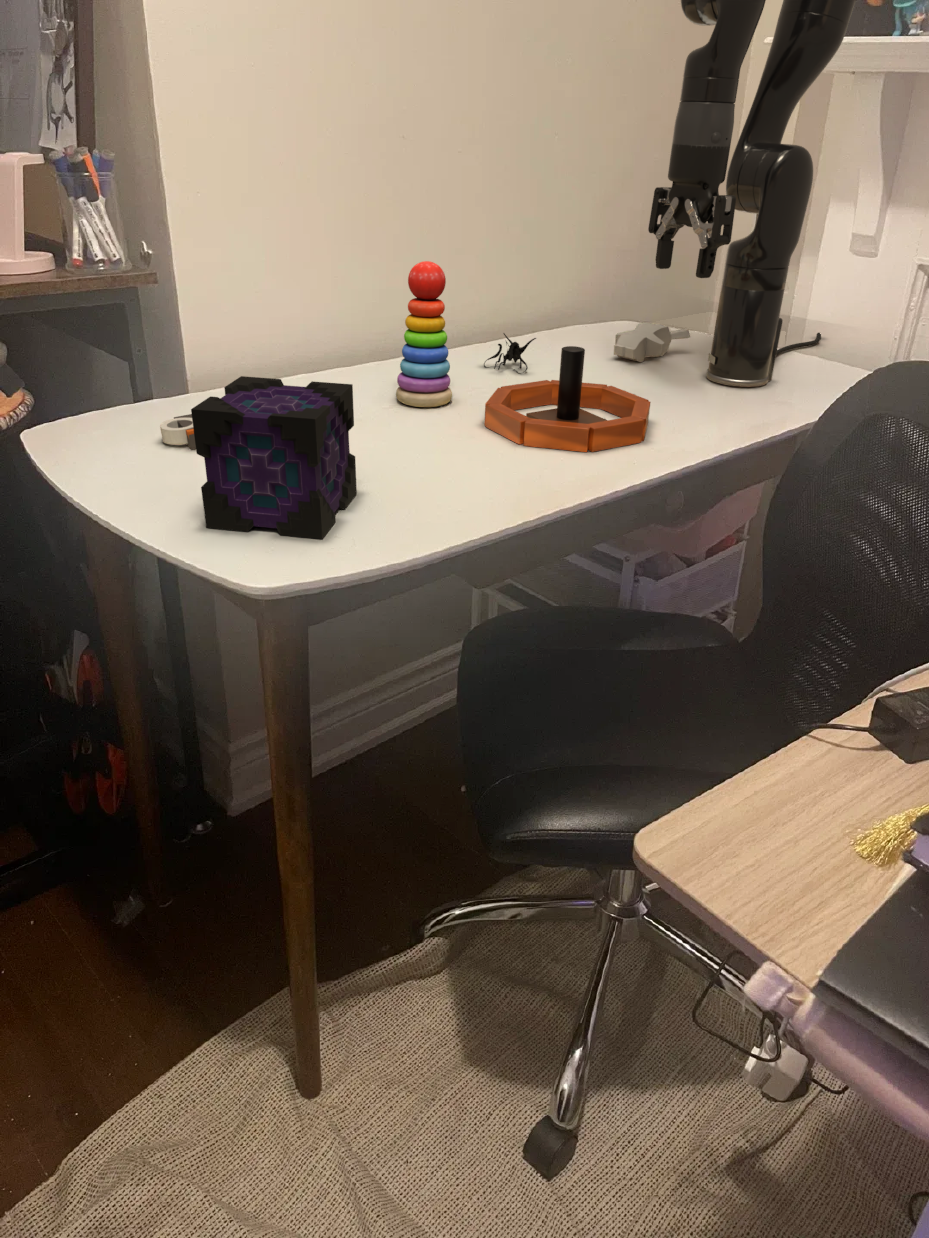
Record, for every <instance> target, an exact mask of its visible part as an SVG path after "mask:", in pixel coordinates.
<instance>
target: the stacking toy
mask: <svg viewBox="0 0 929 1238" xmlns="http://www.w3.org/2000/svg"><path fill="white" fill-rule="evenodd" d="M446 278H447V277H446V275H445V271H444V270H443V268H442V267H441V266H440V265H439V264H437V263H435V262H434V261H429V260H425V261H420V262H418V263H416V264H415V265H413V267H411V269H410V271H409V273H408V277H407V283H408V284H407V285H408V288H409V291H410V292H411V294H412V296H414V298H412V299H410V300H409V301H408V303H407V310H408V313H410V314H409V315H407V316H406V318H405V320H404V325H405V327H406V329H407V330H405V332H404V334H403V339H404V342H405V344H404V345H403V347H402V349H401V354H402V357H403V358H402V359H401V361H400V364H399V368H400V373H399V374H398V375H397V379H396V382H397V384H398V387H397V389H396V392H395V396H396V399H397V400H398V401H399V402H400V403H401V404H404V405H405V406H406V405H407V406H410V407H417V408H435V407H440V406H444V405H447V404H448V403H449V402H451V400H452V398H453V391H452V388H450V386H451V377H450V375H449V374H448V373H449V372H450V369H451V365H450V364H451V363H450V362H449V360H448V357H449V349H448V347H447V345H446V343H447V341H448V334H447V332H446V331H445V330H444V329H445V327H446V320H445V318H444V317H443V316H442V315H443V314H444V312H445V309H446V306H445V303H444V301H443V300H442V299H439V297H440V296H441V295H442V294H443V293H444V290H445V288H446V283H447V281H446Z"/></svg>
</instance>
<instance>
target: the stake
mask: <svg viewBox="0 0 929 1238" xmlns="http://www.w3.org/2000/svg"><path fill="white" fill-rule="evenodd" d="M585 352H586V349H585V348H584V347H582V346H581V347H580V346H576V345H575V346H574V345H567V346H562V348H561V351H560V365H559V366H560V367H559V377H558V380H559V390H558V403H557V405H556V408H551V409H550V408H549V409H544V410H538V411H532V412H527V413H525V416H527V417H529V418H531V419H541V420H551V421H562V422H572V423H582V424H591V423H596V422H602V421H608V420H609V419H608V420H607V419H606V418H603V417H601V416H599V415H596V414H594V413H592V412H589V411H587V410H586V409H585V410H584V409H583V408H581V407H580V400H581V389H582V383H583V376H584V365H585V356H586V355H585V354H586V353H585Z"/></svg>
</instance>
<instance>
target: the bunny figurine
mask: <svg viewBox="0 0 929 1238" xmlns="http://www.w3.org/2000/svg"><path fill="white" fill-rule="evenodd" d="M614 338H615V339H614V340H615V341H614V345H613V355H615V356H616V357H618V358H622V359H626V360H631V361H636V362H639V363H643V362H644V361H645V358H650V357H653V358H658V357H664V356H665V354H666V353H667V352H668V350H669V347H670V345H671V344H672V341H673V340H683V339H685V340H686V339H690V338H691V333H690V330H689V328H680V329H675V330H672V331H670V326H668V325H665V324H662V323H658V322H655V323H652V322H648V321H643V322H640V323H638V324H637V325H636V326H635V327H634V329H632V330H627V331H621V332H617V333H616V334H615V337H614Z"/></svg>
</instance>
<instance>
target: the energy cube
mask: <svg viewBox="0 0 929 1238" xmlns="http://www.w3.org/2000/svg"><path fill="white" fill-rule="evenodd" d="M353 387H354V386H353V383H341V382H328V381H327V382H324V381H313V380H311V382H309V383H308V384H307V385H306V386H299V385H286V384H285V385H284V383H283V381H282V378H271V377H258V376H257V377H256V376H242V375H241V376H239V377H238V378H236V379H234V380H233V381H232V382H230V383H228V384H227V385H225V386H224V395H223V396H221V397H218V396H209V397H207V398H206V399H204V400H202V401H201V402H199V403H198V404H197V405H195V406H194V407H192V408H191V409H190V414H192V421H193V429H194V437H195V444H196V449H195V450H196V451H195V452H196V455H198V456H200V457H202V458H203V460H204V466H205V475H206V481H205V482H204V483H203V484H202V486H201V487H200V490H201V499H202V505H203V514H204V520H205V528H206V529H213V530H222V531H234V532H242V533H243V532H244V533H249V531H250V530H252V529H253V528H254V527H259V528H267V529H268V528H269V529H276V530H277V532H278V534H279V536H283V537H292V538H293V537H294V538H303V539H304V538H305V539H312V540H313V539H315V540H324V539H325V537H326V535H327V534H329V532H330V531H331V529H332V528H333V526H334V525H335V524H336V523H337V519H336V514H335V513H336V511H338V509H339V510H346V509H347V508H348V506H349V505H350V504H351V503H352V501H353V500H354V498H355V497H356V496H357V493H358V492H357V491H358V489H357V467H356V466H357V465H356V455H354V454H353V453H351V452H350V435H349V434H350V433H349V432H350V431H351V429H352V428H353V427H354V426H355V415H354V413H355V412H354V411H355V410H354V392H353V391H354V390H353V389H354V388H353Z"/></svg>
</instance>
